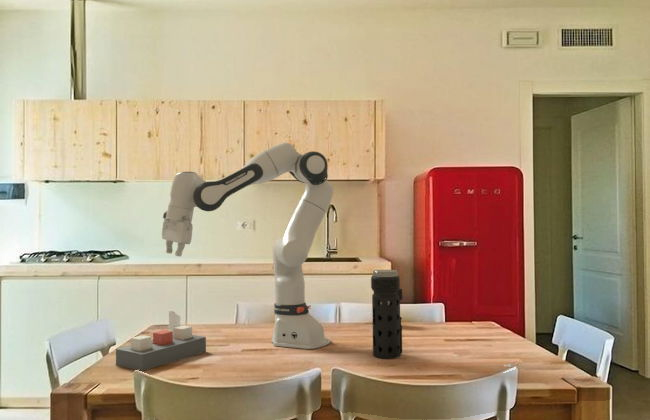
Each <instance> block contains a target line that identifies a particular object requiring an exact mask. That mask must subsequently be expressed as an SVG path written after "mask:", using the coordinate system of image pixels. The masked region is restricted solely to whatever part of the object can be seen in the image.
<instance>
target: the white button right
mask: <svg viewBox="0 0 650 420" xmlns="http://www.w3.org/2000/svg"><path fill="white" fill-rule="evenodd" d="M192 335H193V326H188V325H180V326H179V327H175V328H173V338H174V339H180V340H184V339H188V338H191V337H192Z"/></svg>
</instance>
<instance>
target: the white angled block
mask: <svg viewBox="0 0 650 420" xmlns="http://www.w3.org/2000/svg"><path fill="white" fill-rule="evenodd" d="M179 326H181V316H180V315H178V314H177V313H176V312H175V311H174V310H171V311H168V331H172V332H173V328H175V327H179Z"/></svg>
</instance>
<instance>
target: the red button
mask: <svg viewBox="0 0 650 420" xmlns="http://www.w3.org/2000/svg"><path fill="white" fill-rule="evenodd" d="M152 340H153V344H157V345H165V344H169V343H173V332H172V331H169V330H164V329H162V330H159V331H155V332H152Z"/></svg>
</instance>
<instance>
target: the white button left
mask: <svg viewBox="0 0 650 420" xmlns="http://www.w3.org/2000/svg"><path fill="white" fill-rule="evenodd" d="M151 340H152V336H150V335H144V334H142V335H138V336H132V337H130V345H131V350H136V351H143V350H146V349H150V348H152V343H151Z"/></svg>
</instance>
